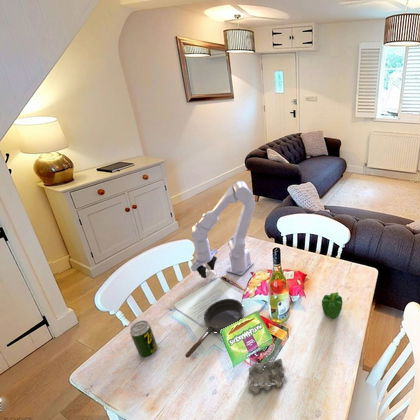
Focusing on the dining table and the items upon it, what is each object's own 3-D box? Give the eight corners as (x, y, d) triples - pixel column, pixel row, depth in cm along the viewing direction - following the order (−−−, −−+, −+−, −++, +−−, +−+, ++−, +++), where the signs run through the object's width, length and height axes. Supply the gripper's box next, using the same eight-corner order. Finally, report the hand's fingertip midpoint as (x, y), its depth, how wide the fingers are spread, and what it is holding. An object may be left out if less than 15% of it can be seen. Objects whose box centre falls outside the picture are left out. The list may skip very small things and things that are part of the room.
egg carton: (249, 395, 80) (247, 387, 78) (249, 371, 86) (248, 363, 85) (285, 387, 82) (284, 379, 80) (282, 364, 89) (282, 356, 87)
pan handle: (210, 328, 98) (209, 325, 97) (214, 330, 98) (213, 326, 97) (184, 357, 88) (183, 354, 87) (188, 359, 87) (187, 356, 87)
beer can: (137, 360, 88) (126, 335, 83) (142, 346, 93) (133, 321, 88) (155, 357, 90) (145, 332, 84) (160, 343, 94) (151, 318, 89)
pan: (221, 301, 112) (220, 294, 111) (251, 310, 108) (250, 304, 107) (196, 327, 100) (195, 321, 99) (228, 339, 96) (227, 332, 95)
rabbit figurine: (209, 283, 122) (195, 273, 122) (211, 284, 125) (198, 274, 126) (218, 272, 124) (205, 262, 124) (220, 273, 127) (207, 263, 128)
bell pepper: (326, 324, 104) (327, 305, 99) (318, 309, 110) (319, 290, 106) (345, 318, 106) (347, 299, 102) (337, 303, 113) (338, 285, 109)
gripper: (207, 239, 126) (211, 263, 132) (182, 256, 114) (189, 281, 120) (219, 242, 124) (223, 266, 130) (196, 260, 112) (201, 285, 118)
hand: (207, 274), depth 125 cm, fingers closed on rabbit figurine, 4 cm apart
